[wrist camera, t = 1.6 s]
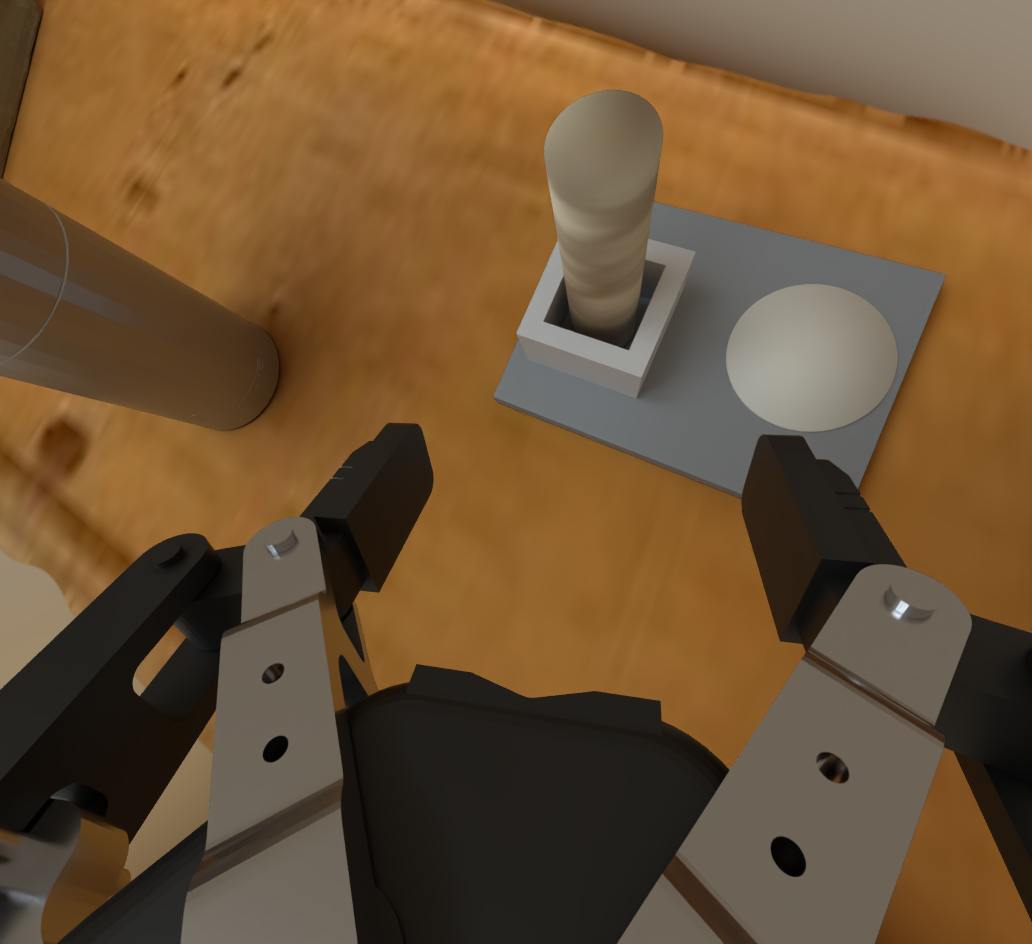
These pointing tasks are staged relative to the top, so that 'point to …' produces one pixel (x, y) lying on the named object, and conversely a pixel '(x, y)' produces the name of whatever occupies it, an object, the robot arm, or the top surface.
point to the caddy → (14, 62)
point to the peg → (604, 206)
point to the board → (729, 350)
